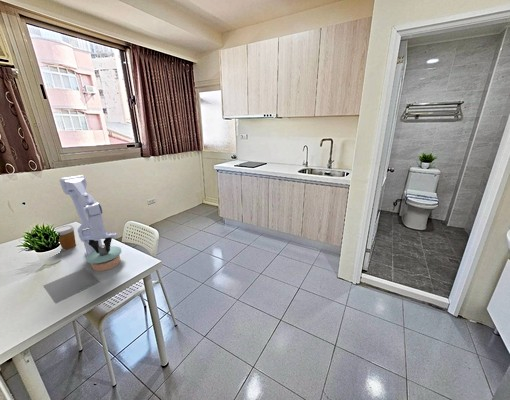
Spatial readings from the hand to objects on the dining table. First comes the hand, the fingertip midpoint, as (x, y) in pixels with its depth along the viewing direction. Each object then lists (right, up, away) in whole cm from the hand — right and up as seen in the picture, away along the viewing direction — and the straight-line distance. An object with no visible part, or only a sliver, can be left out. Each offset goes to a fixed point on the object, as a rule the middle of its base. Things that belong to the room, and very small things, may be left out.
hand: (103, 251), depth 113 cm
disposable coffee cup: (-34, -2, +20) cm, 39 cm away
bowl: (0, -7, +2) cm, 7 cm away
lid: (0, -2, 0) cm, 2 cm away
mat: (-6, -12, -12) cm, 18 cm away
